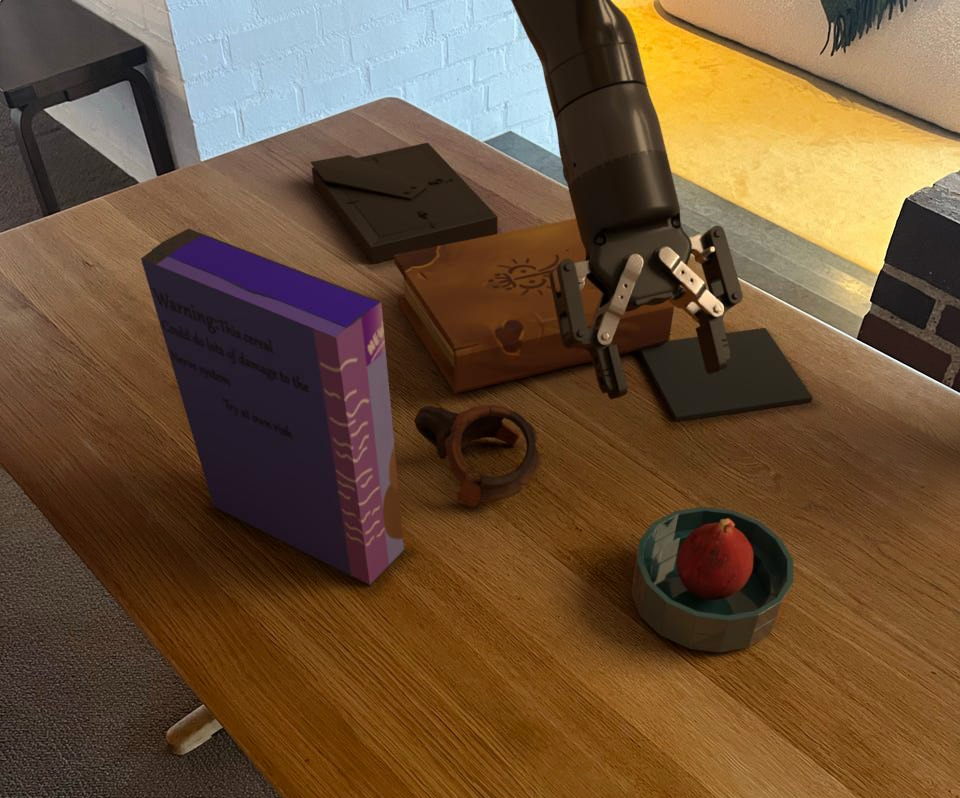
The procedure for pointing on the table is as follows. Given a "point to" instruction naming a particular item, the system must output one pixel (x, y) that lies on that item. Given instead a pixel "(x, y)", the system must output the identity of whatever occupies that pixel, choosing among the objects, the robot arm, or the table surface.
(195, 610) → the table surface
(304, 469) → the purple book
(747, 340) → the mat
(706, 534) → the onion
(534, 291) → the diary
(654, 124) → the robot arm
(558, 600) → the table surface
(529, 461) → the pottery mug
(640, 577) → the bowl
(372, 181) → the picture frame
